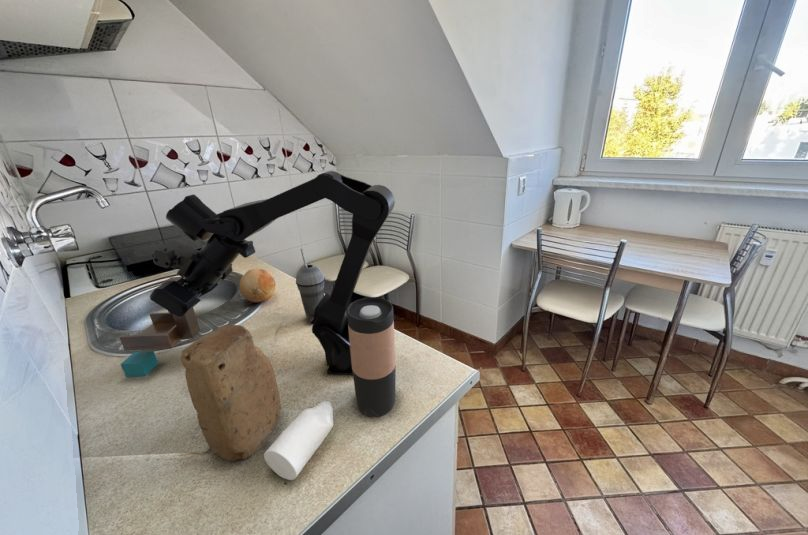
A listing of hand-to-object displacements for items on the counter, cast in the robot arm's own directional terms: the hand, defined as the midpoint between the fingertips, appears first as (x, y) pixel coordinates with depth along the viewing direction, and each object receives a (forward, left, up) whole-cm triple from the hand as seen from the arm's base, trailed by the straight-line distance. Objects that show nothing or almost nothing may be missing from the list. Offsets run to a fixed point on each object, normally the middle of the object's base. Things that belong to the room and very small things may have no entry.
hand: (175, 308), depth 66 cm
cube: (+6, +4, -11) cm, 14 cm away
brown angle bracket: (+3, 0, -7) cm, 7 cm away
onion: (-2, -28, -14) cm, 31 cm away
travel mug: (-42, +10, -14) cm, 46 cm away
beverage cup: (-22, -18, -14) cm, 32 cm away
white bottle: (-33, +19, -14) cm, 40 cm away
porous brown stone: (-22, +18, -14) cm, 32 cm away
